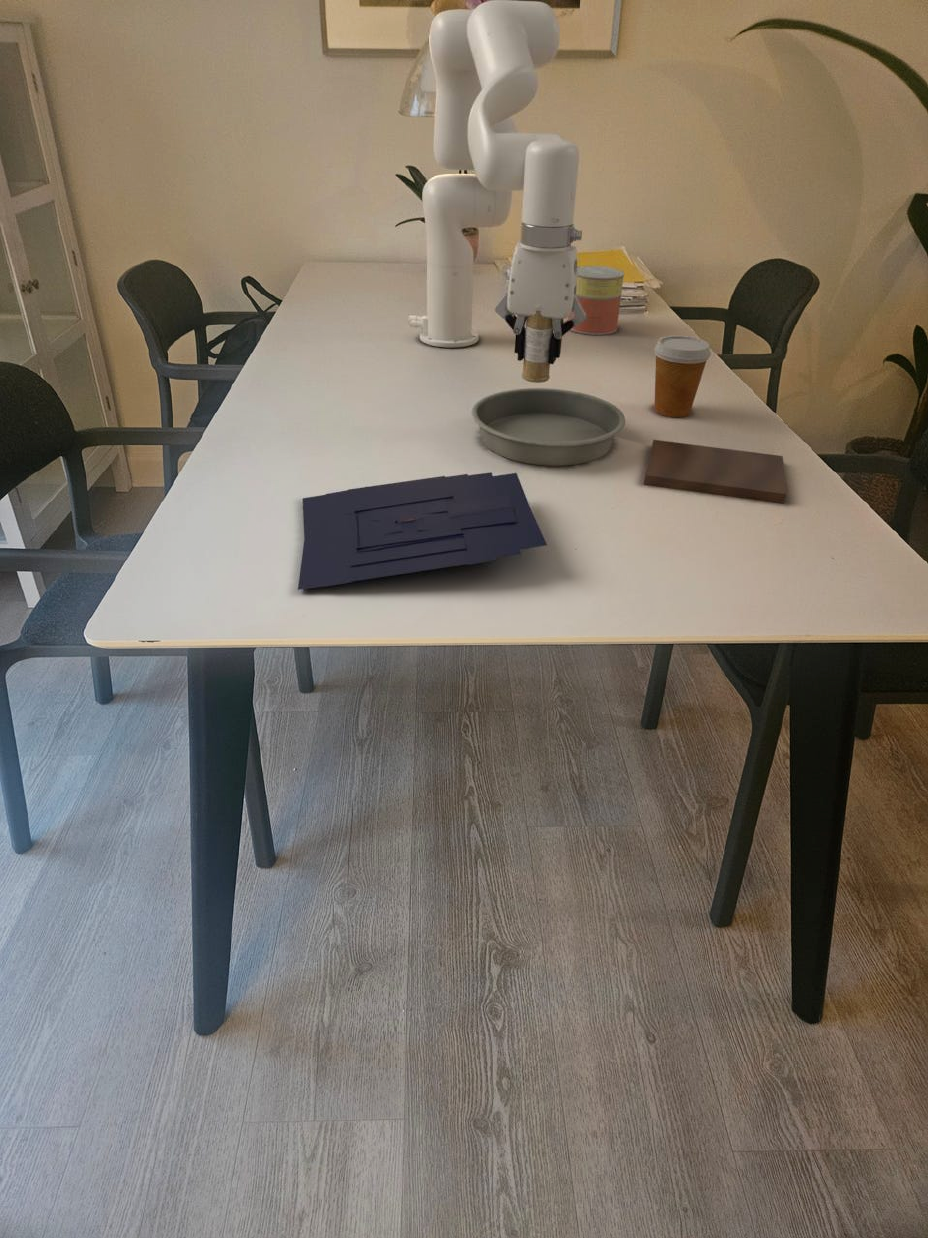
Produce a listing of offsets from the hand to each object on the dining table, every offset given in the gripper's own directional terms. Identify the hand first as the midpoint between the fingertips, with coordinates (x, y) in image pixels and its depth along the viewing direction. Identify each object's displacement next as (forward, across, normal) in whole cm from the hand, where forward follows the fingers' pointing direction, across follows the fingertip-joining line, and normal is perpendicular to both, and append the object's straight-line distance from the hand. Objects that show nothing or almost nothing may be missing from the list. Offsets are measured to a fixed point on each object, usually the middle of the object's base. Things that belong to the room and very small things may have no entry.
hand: (536, 358), depth 136 cm
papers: (+12, +7, +41) cm, 43 cm away
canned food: (+12, -1, -64) cm, 65 cm away
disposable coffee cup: (+12, -22, -17) cm, 30 cm away
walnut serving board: (+12, -30, +8) cm, 33 cm away
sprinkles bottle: (+4, 0, 0) cm, 4 cm away
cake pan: (+12, -3, +3) cm, 13 cm away
